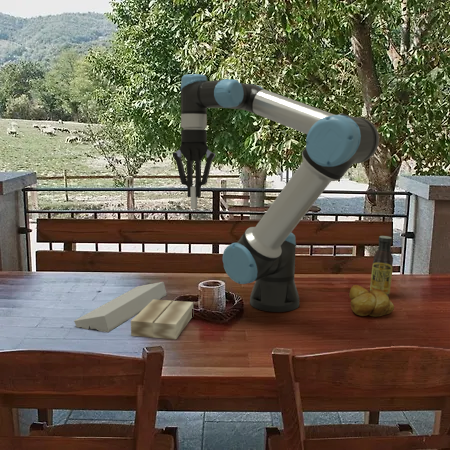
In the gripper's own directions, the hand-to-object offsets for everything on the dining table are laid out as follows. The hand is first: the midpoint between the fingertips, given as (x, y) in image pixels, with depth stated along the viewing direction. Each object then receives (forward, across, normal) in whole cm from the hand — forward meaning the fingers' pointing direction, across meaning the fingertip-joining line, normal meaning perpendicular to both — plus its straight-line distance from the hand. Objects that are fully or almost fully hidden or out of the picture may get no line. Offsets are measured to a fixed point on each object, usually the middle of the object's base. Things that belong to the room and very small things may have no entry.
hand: (194, 207), depth 155 cm
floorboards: (+29, +3, +22) cm, 37 cm away
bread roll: (+30, -54, 0) cm, 62 cm away
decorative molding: (+30, +18, +12) cm, 37 cm away
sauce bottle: (+30, -58, -17) cm, 67 cm away
